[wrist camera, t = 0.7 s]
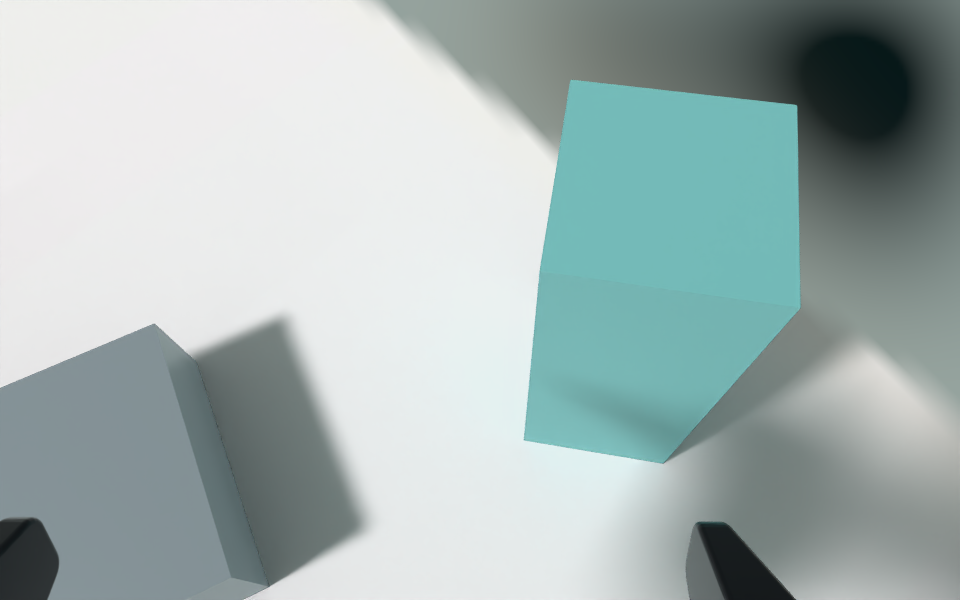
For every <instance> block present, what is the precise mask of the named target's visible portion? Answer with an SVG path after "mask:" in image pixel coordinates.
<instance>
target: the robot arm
mask: <svg viewBox="0 0 960 600" xmlns="http://www.w3.org/2000/svg"><path fill="white" fill-rule="evenodd" d="M58 570H59V555H58V552H57V550H56V549H55V547H54V545H53V543H52V541H51V539H50V537H49V535H48V533H47V531H46V529H45V527H44V525H43V523H42V522H41V521H40V520H39V519H37V518H35V517H9V518H5V519H3V520H1V521H0V600H48V598H49V595H50V592H51V590H52V587H53V584H54V582H55V579H56V577H57V573H58ZM686 578H687V585H688V591H689V597H690V600H796V599H795V598H794V597H793V596H792V595H791V594H790V592H789V591H788V590H787V589H786V588H785V587H784V586H783V585H782V584H781V582H780V581H779V580H778V579H777V578H776V577H775V576H774V575H773V573H772V572H771V571H770V570H769V569H768V568H767V567H766V566H765V565H764V563H763V562H762V561H761V560H760V559H759V558H758V557H757V556H756V555H755V553H754V552H753V551H752V550H751V549H750V548H749V547H748V546H747V545H746V543H745V542H744V541H743V540H742V539H741V538H740V537H739V536H738V534H737V533H736V532H735V531H734V530H733V529H732V528H731V527H730V526H729V525H728V524H726V523H724V522H697V523H696V524H695V525H694V527H693V530H692V535H691V540H690V545H689V549H688V554H687V559H686Z"/></svg>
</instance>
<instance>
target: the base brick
mask: <svg viewBox="0 0 960 600" xmlns="http://www.w3.org/2000/svg"><path fill="white" fill-rule="evenodd" d="M9 517H35V518H37V519H39V520H40V521H41V522H42V523H43V525H44V527H45V529H46V531H47V533H48V535H49V537H50V539H51V541H52V543H53V545H54V547H55V549H56V550H57V552H58V555H59V570H58V573H57V577H56V579H55V582H54V584H53V587H52V590H51V592H50V595H49V598H48V600H244V599H246V598H248V597H250V596H252V595H254V594H256V593H258V592H260V591H262V590H264V589H266V588H268V587H269V585H268V581H267V578H266V575H265V572H264V569H263V566H262V563H261V560H260V557H259V554H258V550H257V547H256V544H255V541H254V538H253V535H252V532H251V529H250V526H249V523H248V520H247V516H246V513H245V510H244V507H243V504H242V501H241V498H240V495H239V492H238V489H237V486H236V482H235V479H234V476H233V473H232V470H231V467H230V464H229V461H228V458H227V455H226V452H225V448H224V445H223V442H222V439H221V436H220V433H219V430H218V427H217V424H216V421H215V418H214V414H213V411H212V408H211V405H210V402H209V399H208V396H207V393H206V390H205V387H204V384H203V380H202V377H201V374H200V371H199V368H198V365H197V362H196V361H195V360H194V359H193V358H192V357H191V356H189V355H188V354H187V353H186V352H185V351H184V350H183V349H182V348H181V347H180V346H178V345H177V344H176V343H175V342H174V341H173V340H172V339H171V338H170V337H169V336H168V335H166V334H165V333H164V332H163V331H162V330H161V329H160V328H159V327H158V326H157V325H156V324H152V325H150V326H147V327H145V328H142V329H140V330H138V331H135V332H133V333H131V334H128V335H126V336H123V337H121V338H119V339H116V340H114V341H111V342H109V343H107V344H104V345H102V346H99V347H97V348H95V349H92V350H90V351H87V352H85V353H83V354H80V355H78V356H76V357H73V358H71V359H68V360H66V361H64V362H61V363H59V364H56V365H54V366H52V367H49V368H47V369H44V370H42V371H40V372H37V373H35V374H32V375H30V376H28V377H25V378H23V379H21V380H18V381H16V382H13V383H11V384H9V385H6V386H4V387H1V388H0V521H1V520H3V519H5V518H9Z"/></svg>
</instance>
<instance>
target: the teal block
mask: <svg viewBox="0 0 960 600" xmlns="http://www.w3.org/2000/svg"><path fill="white" fill-rule="evenodd" d="M797 136H798V135H797V105H790V104H782V103H772V102H764V101H754V100H745V99H737V98H728V97H719V96H709V95H702V94H693V93H684V92H675V91H666V90H657V89H648V88H639V87H630V86H622V85H612V84H603V83H595V82H586V81H577V80H570V86H569V92H568V99H567V105H566V111H565V117H564V124H563V130H562V136H561V142H560V148H559V155H558V161H557V167H556V173H555V179H554V186H553V192H552V198H551V204H550V210H549V217H548V223H547V229H546V235H545V241H544V248H543V254H542V260H541V266H540V274H539V284H538V295H537V306H536V316H535V327H534V338H533V348H532V359H531V370H530V380H529V391H528V402H527V412H526V423H525V434H524V440H526V441H532V442H537V443H543V444H549V445H555V446H561V447H567V448H573V449H579V450H585V451H591V452H597V453H603V454H609V455H615V456H621V457H627V458H633V459H639V460H645V461H651V462H657V463H664V462H665V461H666V460H667V459H668V457H669V456H670V455H671V454H672V453H673V452H674V451H675V450H676V448H677V447H678V446H679V445H680V444H681V443H682V442H683V441H684V439H685V438H686V437H687V436H688V435H689V434H690V433H691V431H692V430H693V429H694V428H695V427H696V426H697V425H698V424H699V422H700V421H701V420H702V419H703V418H704V417H705V416H706V415H707V413H708V412H709V411H710V410H711V409H712V408H713V407H714V405H715V404H716V403H717V402H718V401H719V400H720V399H721V398H722V396H723V395H724V394H725V393H726V392H727V391H728V390H729V388H730V387H731V386H732V385H733V384H734V383H735V382H736V381H737V379H738V378H739V377H740V376H741V375H742V374H743V373H744V372H745V370H746V369H747V368H748V367H749V366H750V365H751V364H752V362H753V361H754V360H755V359H756V358H757V357H758V356H759V355H760V353H761V352H762V351H763V350H764V349H765V348H766V347H767V346H768V344H769V343H770V342H771V341H772V340H773V339H774V338H775V336H776V335H777V334H778V333H779V332H780V331H781V330H782V329H783V327H784V326H785V325H786V324H787V323H788V322H789V321H790V320H791V318H792V317H793V316H794V315H795V314H796V313H797V312H798V310H799V309H800V308H801V300H800V249H799V247H800V245H799V189H798V137H797Z"/></svg>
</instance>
